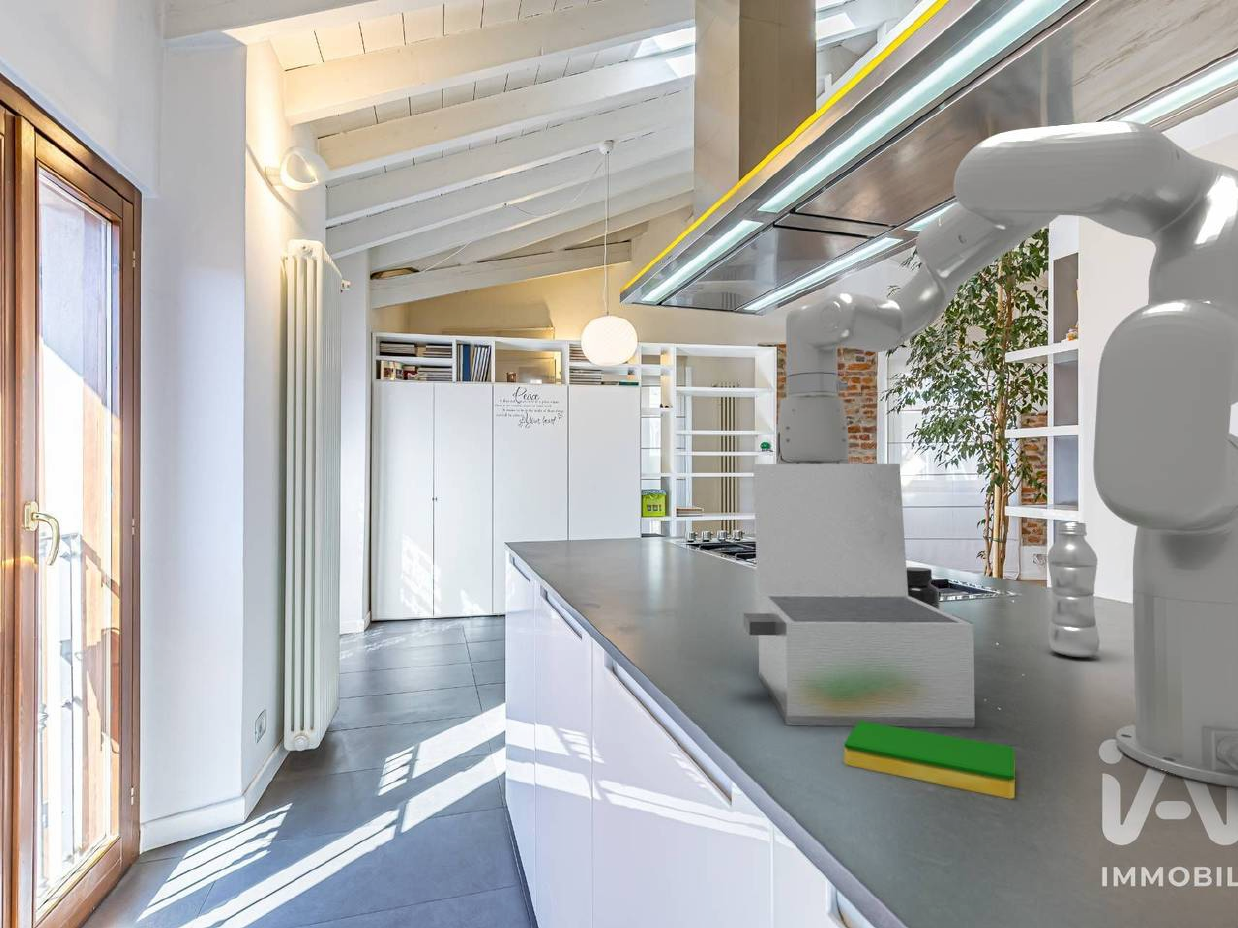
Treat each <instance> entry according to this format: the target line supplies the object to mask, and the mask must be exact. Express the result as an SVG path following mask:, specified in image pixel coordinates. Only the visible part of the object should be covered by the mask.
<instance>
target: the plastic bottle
mask: <svg viewBox="0 0 1238 928" xmlns="http://www.w3.org/2000/svg"><path fill="white" fill-rule="evenodd" d="M1056 524H1057V526H1056V527H1057V531H1056V535H1058V539H1057V540H1055V542H1054V544H1052V546H1051V548H1050V549H1049V550H1048V553H1047V557H1046V558H1047V559H1046V560H1047V563H1048V565H1047V566H1048V572H1049V577H1050V584H1051V585H1050V588H1051V597H1052V603H1051V614H1050V615H1051V617H1050V618H1051V619H1050V622H1049V626H1048V632H1047V633H1048V634H1047V638H1048V643H1049V646H1050V648H1051V649H1052V651H1053V652H1055V653H1057V654H1060V655H1063V656H1064V655H1065V656H1067V657H1069V658H1070V657H1071V658H1090V657H1094V656H1096V654H1097V653H1098V652H1099V649H1100V637H1099V636H1100V635H1099V630H1098V627H1097V623H1096V614H1095V604H1094V603H1095V601H1094V600H1095V597H1094V595H1095V582H1096V575H1097V569H1098V567H1097V566H1098V558H1097V555H1096V552H1095V551H1094V549H1093V548H1092V546H1091V545H1090V544H1089V543H1088V542H1087V540H1086V539H1085V536H1088V535H1087V528H1086V527H1087V524H1086V523H1085V522H1078V521H1077V522H1073V521H1071V522H1070V521H1061V522H1060V521H1058V522H1057V523H1056Z"/></svg>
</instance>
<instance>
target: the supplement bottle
mask: <svg viewBox="0 0 1238 928" xmlns="http://www.w3.org/2000/svg"><path fill="white" fill-rule="evenodd" d="M906 569H907V585H908V596H910V597H912V598H915V599H917V600H919V601H921V602H924V603H926V604H928V605H930V606H933V607H935V608H937V609H939V610H941V609H940V592H939V590H938V588H937V587H936V586H934V585H933V584H931V582H932V581H933V576H932V575H933V574H932V569H931V568H927V567H916V566H914V567H912V566H910V567H909V566H906Z"/></svg>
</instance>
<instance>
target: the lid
mask: <svg viewBox="0 0 1238 928" xmlns="http://www.w3.org/2000/svg"><path fill="white" fill-rule="evenodd" d="M901 479H902V477H901V463H849V464H836V463H829V464H817V463H808V464H796V463H788V464H777V463H754V464H753V493H754V494H753V495H754V523H755V524H754V525H755V528H754V529H755V531H754V532H755V559H756V561H755V562H756V594H757V596H759V595H878V596H908V585H907V569H906V567H907V557H906V542H905V541H906V540H905V529H904V528H905V525H904V513H903V510H904V509H903V496H902V495H903V493H902V492H903V491H902V480H901Z"/></svg>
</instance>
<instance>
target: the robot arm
mask: <svg viewBox="0 0 1238 928" xmlns="http://www.w3.org/2000/svg"><path fill="white" fill-rule="evenodd" d="M952 189H953V193H954V196H955V197H956V200H957V201H956V202H955V203H954V204H953V205H952V206H950V207H948V209H946V210H945V211H944V212H943V213H941V214H940V215H938V216H937V217H936V218H935V219H933V220H932V221H931V222H930V223H929V224H927V225H925V227H923V228H922V229H921V230H920V231H919V233H918V234H917V236H916V239H915V249H916V253H917V255H918V257H919V258H918V259H919V260H920V262H921V264H920V267H919V269H918V270H917V272H916V273H915V275H914V276H913V277H911V279H910V280H909V281H908V282H906V284H905V285H903V286H901V287H900V288H899V289H898V290H897V291H895V292H893V294H891V295H889V296H888V297H886V298H885V299H880V298H876V297H872V296H868V295H863V294H859V293H855V292H854V293H853V292H848V291H840V292H836V293H833V294H830V295H828V296H826V297H824V298H822V299H820V300H819V301H817V302H815V303H813V304H806V305H802V306H798V307H795V308H792V309H791V310H790V311H789V312H788V314H787V316H786V319H785V350H786V353H785V360H786V362H785V363H786V364H785V365H786V366H785V368H786V369H785V370H786V372H785V373H786V374H785V375H786V379H785V380H786V381H785V382H786V383H785V384H786V387H785V388H786V390H785V391H786V393H785V394H786V397H783V398H781V399H780V403H779V407H778V408H779V409H778V413H777V414H778V417H777V427H776V443H775V444H776V448H775V450H776V452H775V453H776V458H777V461H776V462H777V463H776V464H850V463H849V453H850V444H849V442H850V441H849V429H848V420H847V415H846V414H847V413H846V409H845V403H844V399H843V397H842V396H839V394H840V392H842V391H847V390H848V381H847V380H844V381H843V380H841V378H840V376H839V372H838V371H839V369H838V348H845V349H855V350H858V351H859V350H860V351H865V352H872V353H881V352H886V351H889V350H891V349H894V348H896V347H899V346H900V345H902V344H904V343H905V342H907V341H908V340H910V339H911V338H913V337H915V336H916V335H917V334H920V332H922V331H923V330H925V329H926V328H929V326H931V325H932V324H933V323H934V322H936V321H937V320H938V319H939V317H941V315H942V314H944V311H945V310H946V309H947V307H948V306H949V304H950V303H951V302H952V301H953V299H954V298H955V296H956V294H957V292H958V290H959V288H960V287H961V285H962V284H964V283H965V282H966V281H968V280H969V279H970V278H972V277H973V276H975V275H976V274H977V273H979V272H980V271H982V270H983V269H985V268H986V267H988V266H989V265H991V264H992V263H994V262H995V261H996V260H998V259H1000V258H1001V257H1002V256H1004V255H1005V254H1006V253H1008V252H1009V251H1011V250H1012V249H1014V248H1015V247H1017V246H1018V245H1019V244H1021V243H1023V242H1024V241H1026V240H1027V239H1028V238H1030V237H1031V236H1033V235H1034V234H1036V233H1037V232H1039V231H1040V230H1042V229H1043V228H1045V227H1046V226H1048V225H1049V224H1050V223H1052V222H1053V221H1055V220H1056V219H1057V218H1058V217H1059V216H1073V217H1074V216H1075V217H1077V216H1078V217H1084V218H1086V219H1089V220H1091V221H1093V222H1095V223H1097V224H1099V225H1101V226H1104V227H1105V228H1108V229H1111V230H1113V231H1115V232H1118V233H1120V234H1123V235H1127V236H1131V237H1135V238H1143V239H1146V240H1149V241H1151V242H1152V243H1153V244H1154V247H1155V251H1154V252H1155V253H1154V256H1153V258H1152V260H1151V265H1150V269H1149V275H1148V301H1147V305H1144V306H1142V307H1140V308H1138V309H1136V310H1135V311H1133V312H1132V313H1130V314H1128V316H1126V317H1125V318H1124V319H1122V321H1121V322H1119V323H1118V325H1117V326H1116V327H1115V328H1114V330H1113V331H1112V333H1111V334H1110V335H1109V337H1108V338H1107V341H1106V342H1105V345H1104V347H1103V350H1102V353H1101V356H1100V361H1099V365H1098V366H1099V367H1098V377H1097V391H1096V393H1097V394H1096V406H1095V407H1096V410H1095V422H1094V423H1095V424H1094V425H1095V426H1094V441H1093V462H1092V463H1093V466H1092V467H1093V479H1094V483H1095V487H1096V488H1095V489H1096V490H1097V493H1098V495H1099V497H1100V499H1101V501H1102V502H1103V504H1104V505H1105V506H1106V508H1108V510H1109V511H1110V512H1112V513H1113V514H1114V515H1115V516H1116V517H1118V518H1119V519H1121V520H1123V521H1124V522H1126V523H1128V524H1131V525H1132V526H1136V533H1135V537H1134V546H1133V557H1132V617H1133V618H1132V620H1133V621H1132V622H1133V623H1132V624H1133V626H1132V627H1133V628H1132V629H1133V670H1134V673H1133V675H1134V681H1133V682H1134V720H1135V722H1134V723H1135V724H1130V725H1126V726H1123V727H1121V728H1119V729H1118V730H1116V732H1115V733H1116V734H1115V743H1116V745H1117V747H1118V748H1119V749H1120V750H1121V751H1122V752H1123V753H1124V754H1125V755H1127V756H1128V757H1130V758H1132V759H1134V760H1135V761H1138V762H1140V763H1142V764H1144V765H1146V766H1149V767H1151V768H1153V767H1156V768H1159V769H1163V770H1166V771H1168V772H1171V773H1173V774H1172V775H1175V774H1176V775H1175V776H1178V777H1182V778H1186V779H1190V780H1194V781H1200V782H1203V783H1208V784H1215V785H1220V786H1227V787H1233V786H1235V787H1234V788H1237V787H1236V786H1238V436H1236V435H1234V434H1233V433H1230V425H1231V411H1232V406H1233V405H1235V404H1237V403H1238V169H1235V168H1232V167H1230V166H1227V165H1225V164H1224V165H1223V164H1222V163H1218V162H1214V161H1210V160H1207V159H1204V158H1200V157H1198V156H1195V155H1193V154H1191V153H1189V151H1187V150H1185V149H1184V148H1183V147H1181V146H1179V145H1178V144H1177V143H1175V142H1173V141H1172V140H1171V139H1169V137H1167V136H1166V135H1164V134H1163V133H1162V132H1160V131H1159V130H1157V129H1155V128H1154V127H1151V126H1150V125H1147V124H1145V123H1139V122H1137V121H1136V122H1134V121H1130V120H1110V121H1109V120H1107V121H1094V122H1084V123H1076V124H1067V125H1065V124H1064V125H1057V126H1056V125H1053V126H1042V127H1030V128H1029V127H1028V128H1020V129H1014V130H1009V131H1005V132H1004V131H1003V132H1000V133H997V134H994V135H992V136H990V137H988V138H986V139H984V140H983V141H981V142H979V143H978V144H977V145H975V146H973V148H972V149H971V150H969V152H968V153H967V154H966V155H965V156H964V157H963V158H962V160H961V161H960V164H959V165H958V167H957V169H956V171H955V175H954V178H953V188H952ZM1156 768H1155V769H1156ZM1159 769H1158V770H1159ZM1168 772H1167V773H1168ZM1171 773H1170V774H1171Z"/></svg>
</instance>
